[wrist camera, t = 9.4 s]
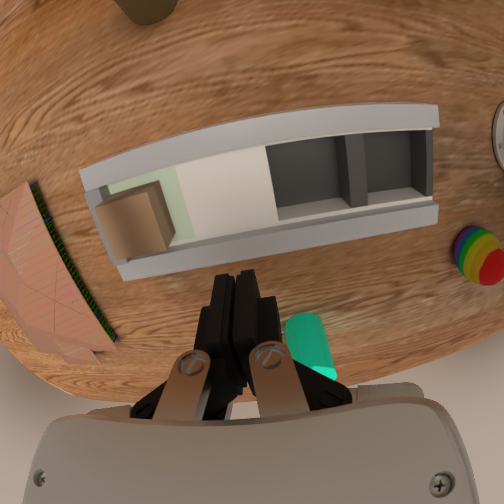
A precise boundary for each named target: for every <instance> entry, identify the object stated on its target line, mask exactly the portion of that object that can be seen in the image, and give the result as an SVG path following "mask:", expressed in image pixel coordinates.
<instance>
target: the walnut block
mask: <svg viewBox="0 0 504 504" xmlns="http://www.w3.org/2000/svg"><path fill="white" fill-rule="evenodd" d="M94 209H95V212H96V214H97V217H98V219H99V222H100V224H101V227H102V229H103V232H104V234H105V237H106V239H107V241H108V244H109V246H110V248H111V250H112V253H113V255H114V257H115V259H116V261H117V260H121V259H126V258H131V257H136V256H140V255H145V254H150V253H155V252H160V251H165V250H167V249H168V247H169V245H170V243H171V241H172V239H173V237H174V235H175V233H176V231H175V228H174V225H173V222H172V219H171V216H170V213H169V210H168V207H167V204H166V201H165V198H164V194H163V191H162V188H161V185H160V181H159V180H157V181H154V182H150V183H147V184H143V185H140V186H136V187H133V188H130V189H127V190H123V191H120V192H117V193H114V194H111V195H109V196H108V197H107V198H106V199H105V200H103V201H102V202H101V203H100V204H98V205H97V206H96V207H95V208H94Z"/></svg>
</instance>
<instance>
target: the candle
mask: <svg viewBox="0 0 504 504" xmlns="http://www.w3.org/2000/svg"><path fill="white" fill-rule="evenodd" d="M284 330H285V337H286V344H287V347H288V349H289V351H290V353H291V356H292V359H294V360H296V361H298V362H300V363H302V364H304V365H305V366H307V367H309V368H311V369H313V370H315V371H317V372H319V373H321V374H323V375H325V376H327V377H328V378H330V379H332V380H334V381H335V380H336V377H337V374H336V370H335V367H334V363H333V359H332V356H331V352H330V349H329V345H328V342H327V338H326V335H325V331H324V328H323V324H322V322H321V319H320V317H319V316H317V315H315V314H313V313H300V314H298V315H295V316H292V317H291V318H290V319H289V320H288V321H287V322H286V325H285V329H284Z"/></svg>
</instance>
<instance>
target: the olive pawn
mask: <svg viewBox="0 0 504 504" xmlns="http://www.w3.org/2000/svg"><path fill="white" fill-rule="evenodd" d="M114 1H115V2H116V3H117V4H118V5H119V6H120V7H121V9H122V10H123V11H124V12H125V13H126V15H127V16H128V17H129V18H130V19H131V20H132V21H133V22H135V23H137V24H141V25H150V24H153V23H157V22H159V21H161V20H163V19H164V18H166V17H167V16H168V15H169V14H170V13H171V12H172V11H173V10H174V8H175V7H176V4H177V1H178V0H114Z"/></svg>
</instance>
